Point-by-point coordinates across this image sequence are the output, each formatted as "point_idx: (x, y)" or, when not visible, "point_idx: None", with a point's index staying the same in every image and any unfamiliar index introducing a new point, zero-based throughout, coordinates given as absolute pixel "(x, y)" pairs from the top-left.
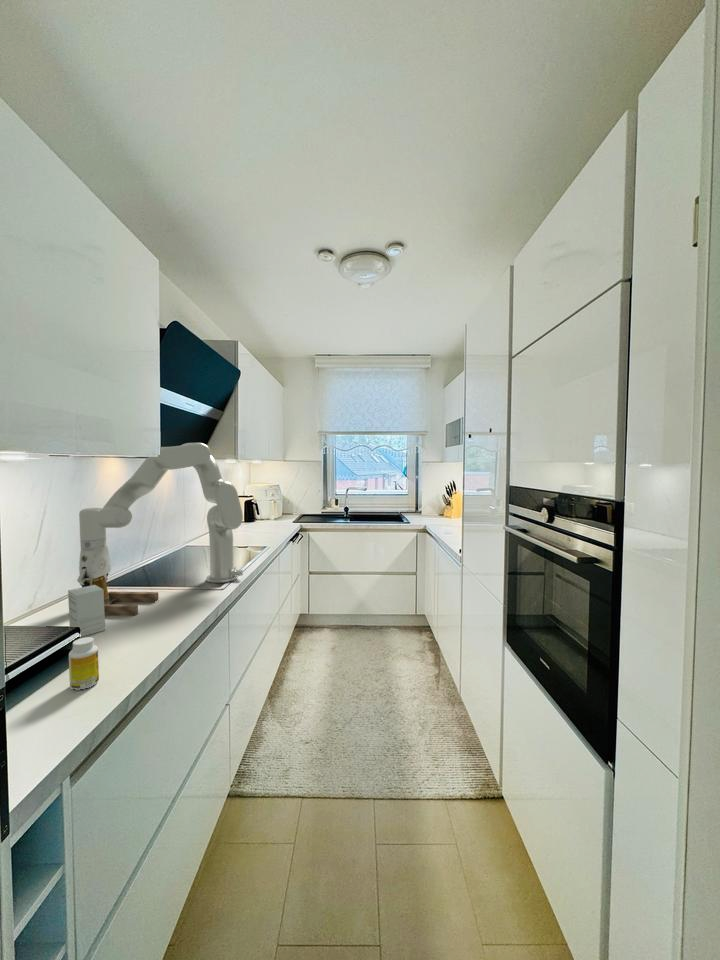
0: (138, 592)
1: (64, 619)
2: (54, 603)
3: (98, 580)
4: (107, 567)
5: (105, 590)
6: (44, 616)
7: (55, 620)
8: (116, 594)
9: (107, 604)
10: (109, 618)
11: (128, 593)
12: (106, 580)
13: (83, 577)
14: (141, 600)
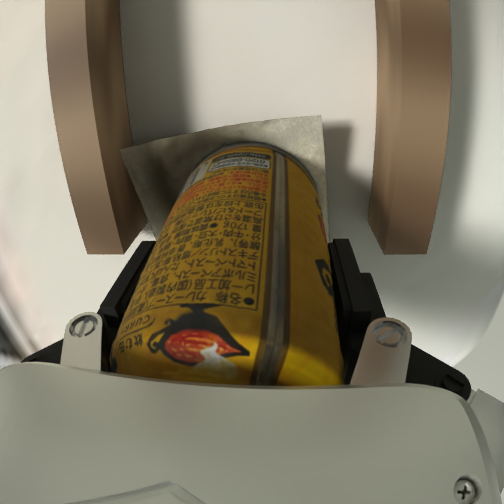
0: (56, 10)
1: (454, 265)
2: None
3: (297, 346)
4: (18, 451)
5: (235, 201)
6: None
7: (456, 295)
8: (108, 170)
9: (409, 54)
10: (462, 8)
11: (85, 68)
12: (90, 314)
13: (497, 453)
14: None
